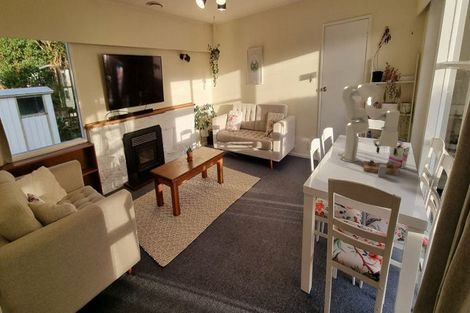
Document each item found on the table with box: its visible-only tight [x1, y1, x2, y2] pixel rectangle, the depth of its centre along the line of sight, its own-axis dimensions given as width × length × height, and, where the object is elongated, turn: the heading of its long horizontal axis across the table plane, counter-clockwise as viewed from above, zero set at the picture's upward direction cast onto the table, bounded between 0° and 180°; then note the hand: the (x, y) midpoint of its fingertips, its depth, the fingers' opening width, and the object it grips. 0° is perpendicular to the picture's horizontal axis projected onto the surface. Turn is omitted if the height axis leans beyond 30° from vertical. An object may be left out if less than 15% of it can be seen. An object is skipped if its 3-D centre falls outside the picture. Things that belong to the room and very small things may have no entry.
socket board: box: [362, 159, 400, 176], centre depth 183 cm, size 22×14×4 cm, turn 65°
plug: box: [377, 164, 387, 179], centre depth 172 cm, size 4×4×8 cm
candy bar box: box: [387, 143, 410, 170], centre depth 186 cm, size 11×5×16 cm, turn 21°
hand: (386, 153), depth 167 cm, fingers open, 9 cm apart
